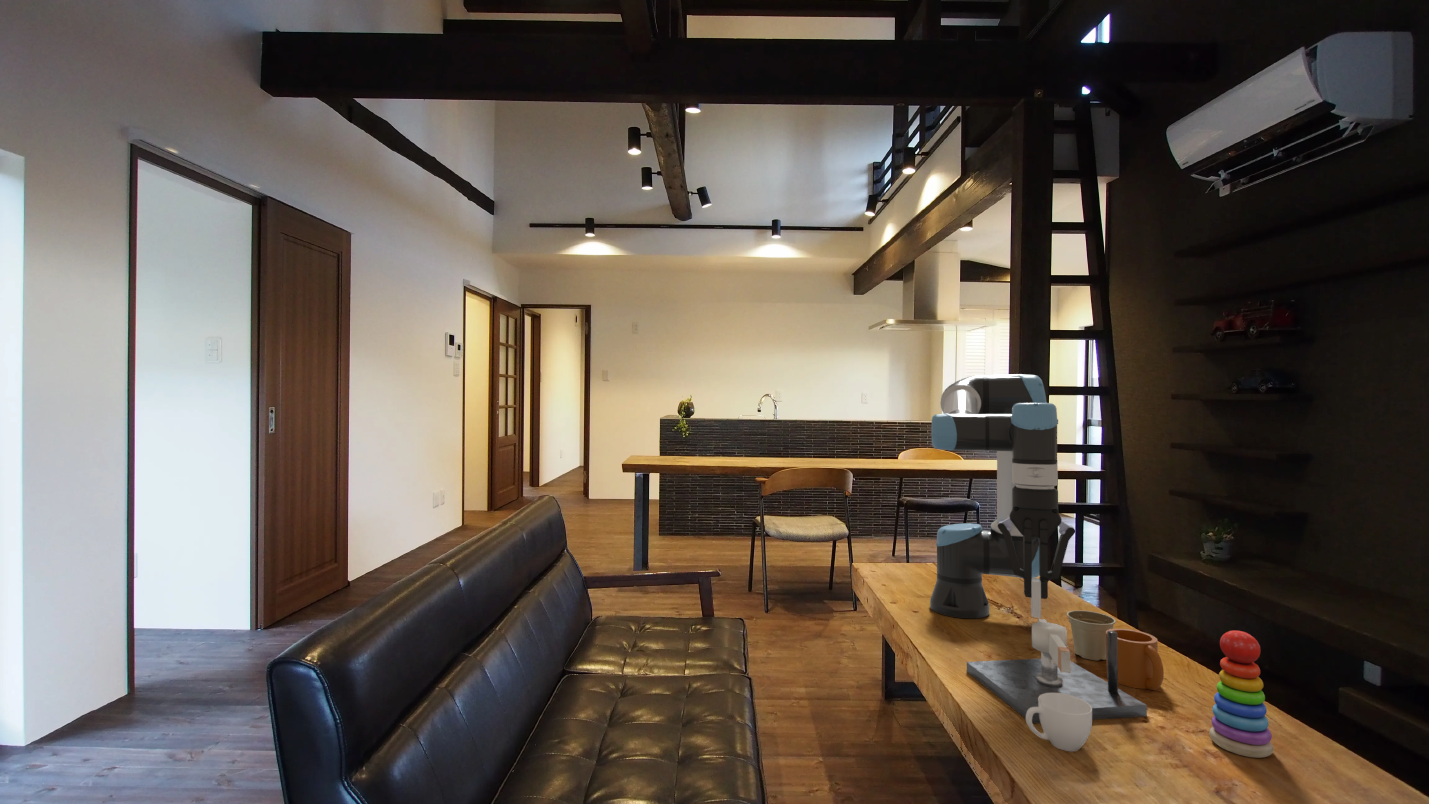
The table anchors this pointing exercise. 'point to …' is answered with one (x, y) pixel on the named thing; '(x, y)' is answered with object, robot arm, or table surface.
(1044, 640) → the white lever
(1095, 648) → the flower pot
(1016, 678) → the base plate
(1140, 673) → the mug
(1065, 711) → the cup
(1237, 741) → the stacking toy
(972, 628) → the table surface
